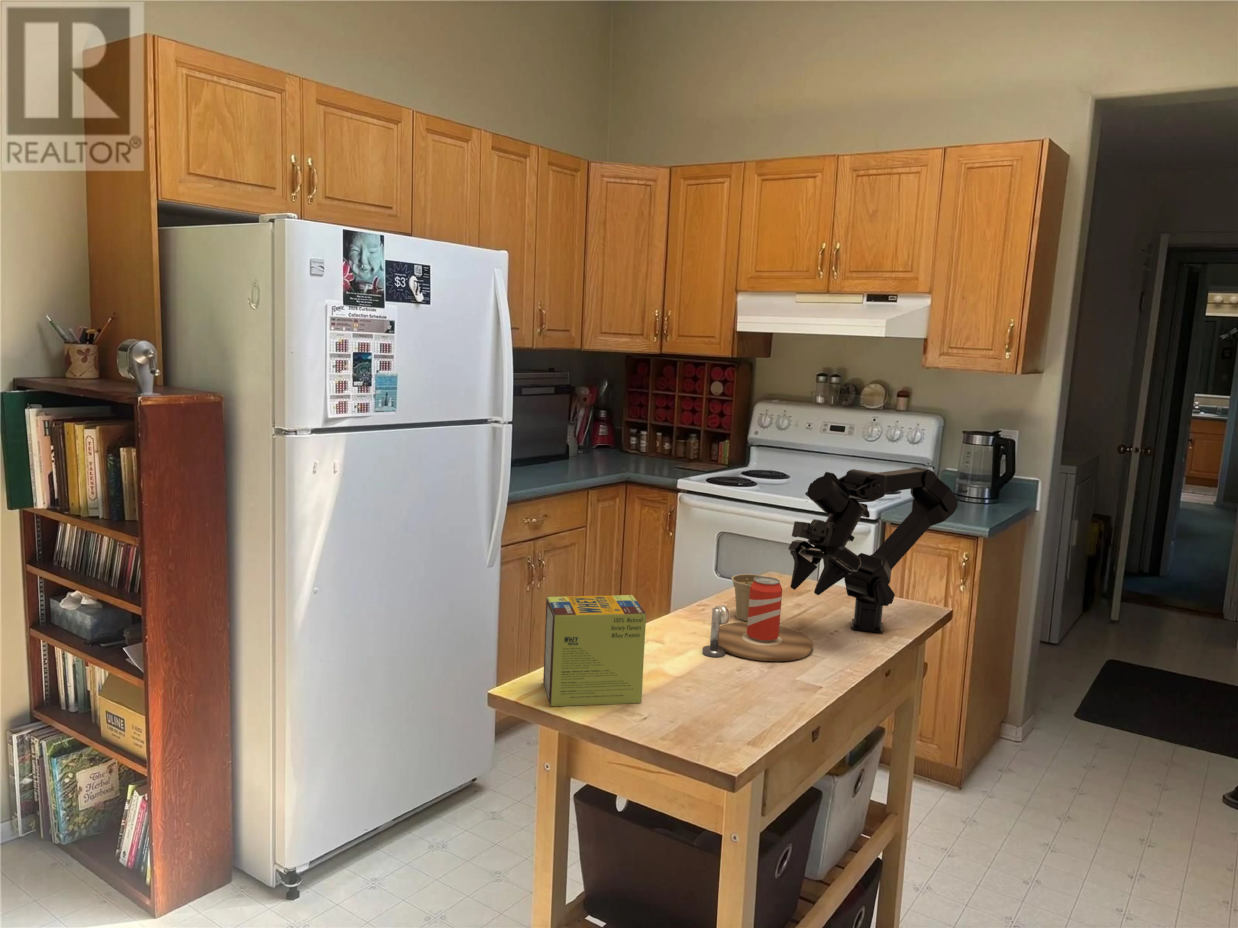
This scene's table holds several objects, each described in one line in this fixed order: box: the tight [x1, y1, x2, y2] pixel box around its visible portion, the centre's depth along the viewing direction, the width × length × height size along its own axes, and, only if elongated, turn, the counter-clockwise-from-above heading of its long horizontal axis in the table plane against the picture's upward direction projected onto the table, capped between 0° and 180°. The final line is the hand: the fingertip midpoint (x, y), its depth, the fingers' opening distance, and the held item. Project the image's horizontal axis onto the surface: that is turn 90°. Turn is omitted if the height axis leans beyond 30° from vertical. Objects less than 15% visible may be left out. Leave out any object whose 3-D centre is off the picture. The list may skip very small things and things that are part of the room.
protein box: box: [542, 594, 647, 707], centre depth 151 cm, size 10×15×16 cm
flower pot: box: [731, 573, 767, 622], centre depth 196 cm, size 9×9×9 cm
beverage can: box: [747, 575, 783, 642], centre depth 179 cm, size 6×6×12 cm
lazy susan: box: [718, 621, 814, 662], centre depth 180 cm, size 20×20×1 cm
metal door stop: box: [701, 605, 730, 658], centre depth 173 cm, size 4×4×9 cm
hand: (804, 591), depth 181 cm, fingers open, 9 cm apart
